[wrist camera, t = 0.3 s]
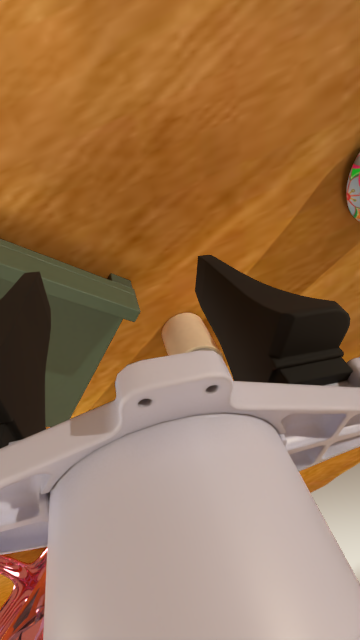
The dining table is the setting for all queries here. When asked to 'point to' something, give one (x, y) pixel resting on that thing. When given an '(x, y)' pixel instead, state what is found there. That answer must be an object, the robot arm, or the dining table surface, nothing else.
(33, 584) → the spiral basket
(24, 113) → the dining table surface
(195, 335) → the salt shaker
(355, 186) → the floral vase
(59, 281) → the shelf
